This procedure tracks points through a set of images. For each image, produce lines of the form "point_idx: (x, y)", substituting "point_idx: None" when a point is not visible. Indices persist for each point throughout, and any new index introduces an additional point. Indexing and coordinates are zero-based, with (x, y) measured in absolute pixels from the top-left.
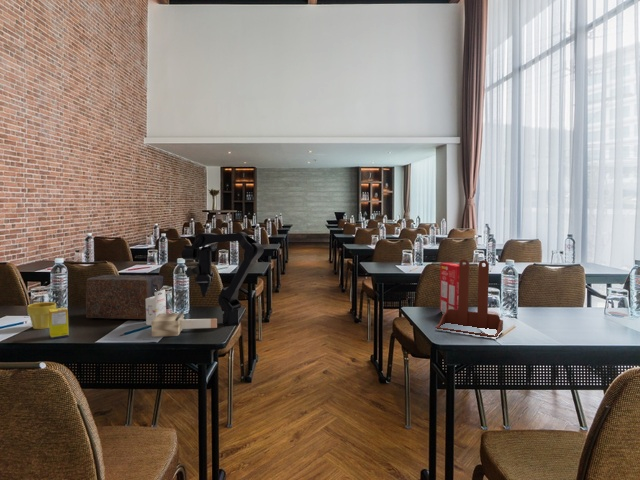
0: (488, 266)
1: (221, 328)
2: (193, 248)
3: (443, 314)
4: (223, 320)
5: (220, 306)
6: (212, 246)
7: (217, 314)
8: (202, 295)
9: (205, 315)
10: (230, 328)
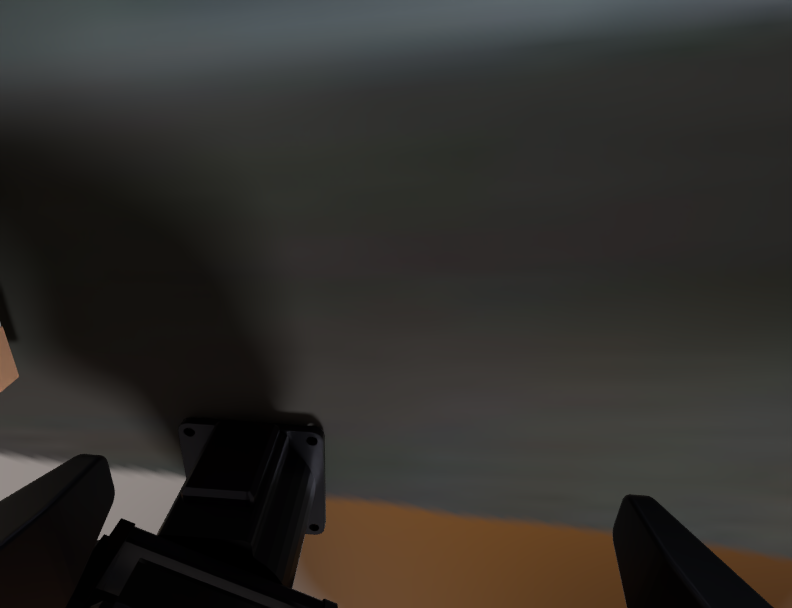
0: None
1: (82, 396)
2: None
3: None
4: (206, 443)
5: (96, 556)
6: None
7: (712, 367)
8: (46, 478)
9: (721, 237)
10: None
